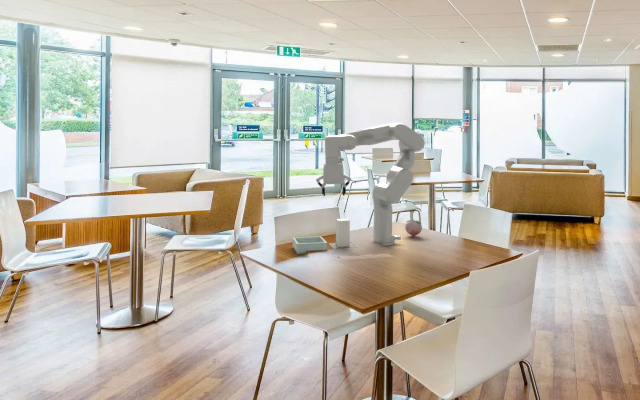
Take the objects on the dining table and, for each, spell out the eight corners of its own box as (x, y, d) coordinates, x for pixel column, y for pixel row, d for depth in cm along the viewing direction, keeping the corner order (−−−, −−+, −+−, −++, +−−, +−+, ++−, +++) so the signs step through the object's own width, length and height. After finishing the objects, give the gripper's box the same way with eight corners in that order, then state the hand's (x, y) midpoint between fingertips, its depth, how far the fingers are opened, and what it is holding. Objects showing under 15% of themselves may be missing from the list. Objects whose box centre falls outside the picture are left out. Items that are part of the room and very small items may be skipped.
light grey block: (346, 243, 255) (346, 218, 254) (349, 246, 250) (349, 220, 248) (335, 244, 254) (336, 219, 252) (338, 246, 249) (338, 220, 247)
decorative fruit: (423, 235, 283) (424, 218, 281) (420, 238, 275) (420, 220, 274) (407, 234, 287) (407, 216, 285) (403, 236, 279) (403, 219, 278)
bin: (320, 245, 257) (320, 236, 257) (327, 252, 243) (327, 242, 242) (292, 247, 254) (292, 237, 254) (297, 254, 240) (297, 243, 240)
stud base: (351, 245, 259) (351, 235, 259) (357, 250, 248) (357, 240, 247) (328, 246, 257) (328, 236, 256) (333, 251, 245) (333, 241, 244)
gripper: (350, 159, 250) (350, 193, 253) (315, 161, 250) (316, 195, 253) (351, 161, 243) (351, 196, 245) (315, 162, 243) (316, 197, 245)
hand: (333, 195), depth 249 cm, fingers open, 9 cm apart
